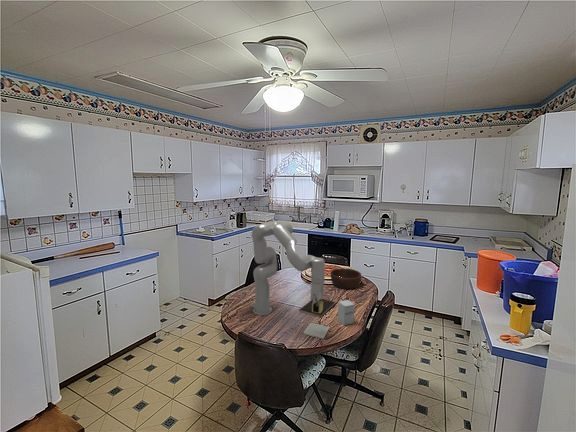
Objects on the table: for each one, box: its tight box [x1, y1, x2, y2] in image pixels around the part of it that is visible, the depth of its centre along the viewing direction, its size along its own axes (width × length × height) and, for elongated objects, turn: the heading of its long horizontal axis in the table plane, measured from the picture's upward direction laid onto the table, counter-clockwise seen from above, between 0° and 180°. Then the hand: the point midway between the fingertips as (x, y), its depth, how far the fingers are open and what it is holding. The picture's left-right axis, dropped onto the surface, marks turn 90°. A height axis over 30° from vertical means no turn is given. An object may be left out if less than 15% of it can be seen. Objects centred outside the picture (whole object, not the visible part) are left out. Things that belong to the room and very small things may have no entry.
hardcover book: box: [298, 298, 336, 318], centre depth 197 cm, size 16×23×2 cm
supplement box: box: [337, 299, 355, 326], centre depth 178 cm, size 7×7×13 cm
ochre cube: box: [312, 301, 323, 313], centre depth 165 cm, size 5×5×5 cm
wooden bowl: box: [330, 267, 362, 290], centre depth 238 cm, size 25×25×10 cm
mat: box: [302, 322, 330, 340], centre depth 167 cm, size 12×12×1 cm
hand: (317, 309), depth 165 cm, fingers closed on ochre cube, 5 cm apart
